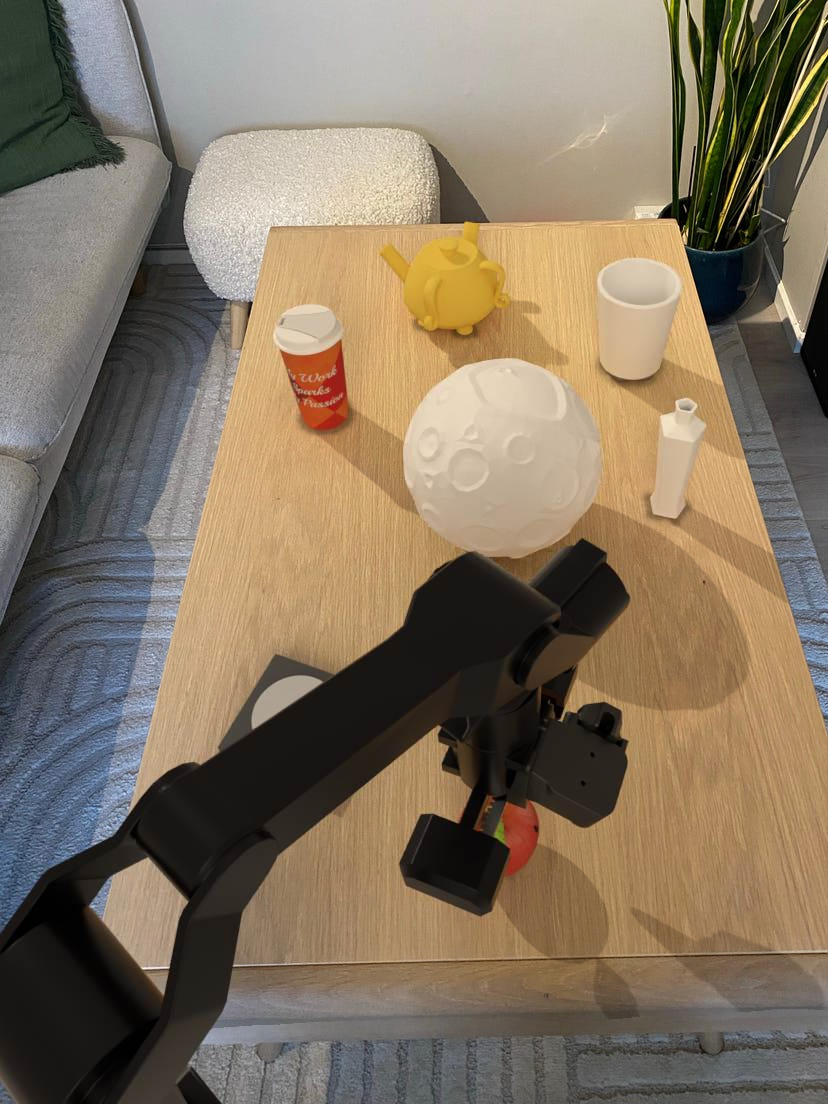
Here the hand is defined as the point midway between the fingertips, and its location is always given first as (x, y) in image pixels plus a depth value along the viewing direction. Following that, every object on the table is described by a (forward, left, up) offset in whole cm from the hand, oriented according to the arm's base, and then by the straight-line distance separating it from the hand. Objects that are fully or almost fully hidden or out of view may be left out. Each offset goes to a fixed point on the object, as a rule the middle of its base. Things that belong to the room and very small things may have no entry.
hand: (497, 809), depth 68 cm
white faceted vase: (+41, -4, -10) cm, 42 cm away
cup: (+62, +6, -10) cm, 63 cm away
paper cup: (+41, +38, -10) cm, 57 cm away
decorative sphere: (+33, +12, -10) cm, 36 cm away
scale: (+4, +21, -9) cm, 23 cm away
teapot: (+65, +32, -10) cm, 73 cm away
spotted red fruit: (0, 0, -10) cm, 10 cm away
